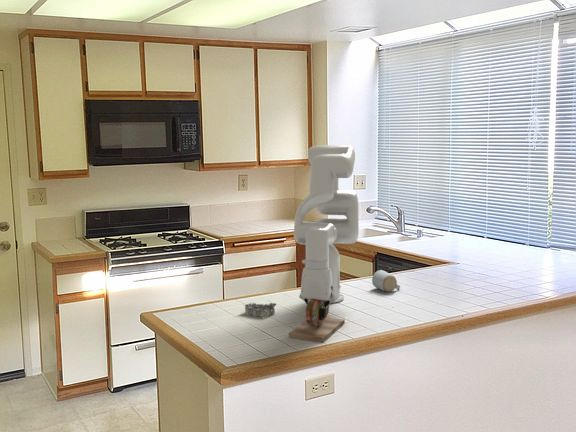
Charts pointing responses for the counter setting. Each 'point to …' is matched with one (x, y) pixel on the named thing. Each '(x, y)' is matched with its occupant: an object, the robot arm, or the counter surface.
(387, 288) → the ceramic mug
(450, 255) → the counter surface
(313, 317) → the tin
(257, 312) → the egg carton
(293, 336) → the walnut board
